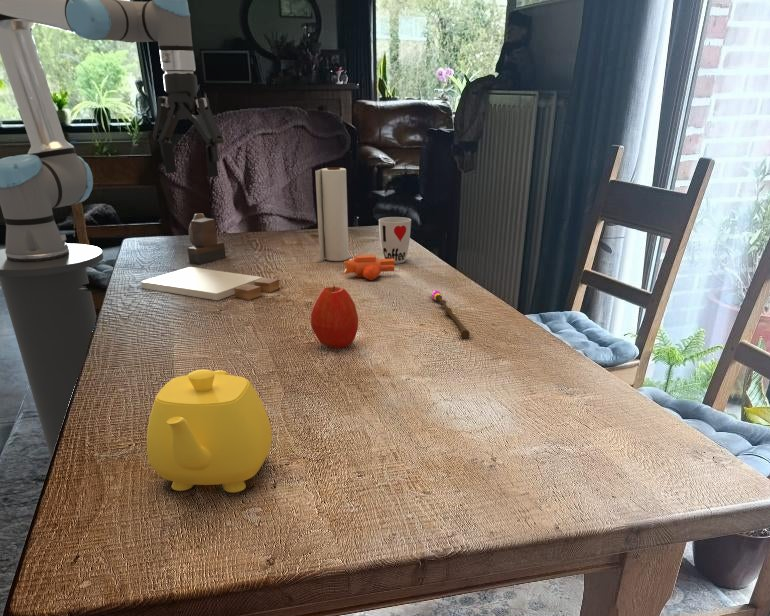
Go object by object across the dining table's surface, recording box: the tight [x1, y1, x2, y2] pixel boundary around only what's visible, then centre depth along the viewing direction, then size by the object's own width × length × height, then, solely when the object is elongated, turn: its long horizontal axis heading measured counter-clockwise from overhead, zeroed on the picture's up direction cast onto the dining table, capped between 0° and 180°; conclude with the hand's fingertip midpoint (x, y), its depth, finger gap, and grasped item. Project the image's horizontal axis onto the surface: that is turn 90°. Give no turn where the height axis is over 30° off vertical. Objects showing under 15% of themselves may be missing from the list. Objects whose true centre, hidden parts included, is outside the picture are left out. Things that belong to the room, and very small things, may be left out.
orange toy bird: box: [343, 254, 396, 281], centre depth 165 cm, size 5×8×12 cm
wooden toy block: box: [187, 217, 226, 265], centre depth 181 cm, size 4×10×10 cm, turn 151°
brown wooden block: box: [234, 284, 262, 301], centre depth 153 cm, size 4×4×2 cm
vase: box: [188, 212, 206, 247], centre depth 194 cm, size 7×7×9 cm
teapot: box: [146, 369, 273, 493], centre depth 81 cm, size 14×20×13 cm
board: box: [140, 266, 264, 302], centre depth 161 cm, size 22×16×2 cm
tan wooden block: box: [254, 277, 280, 293], centre depth 158 cm, size 4×4×2 cm
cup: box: [378, 216, 412, 265], centre depth 178 cm, size 8×8×10 cm
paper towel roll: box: [314, 166, 350, 262], centre depth 178 cm, size 7×6×21 cm
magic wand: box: [431, 290, 470, 340], centre depth 140 cm, size 2×2×30 cm
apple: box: [310, 284, 359, 349], centre depth 122 cm, size 8×8×11 cm
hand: (191, 174), depth 174 cm, fingers open, 13 cm apart
